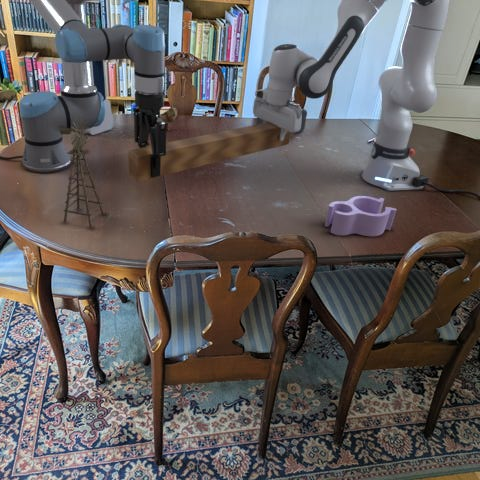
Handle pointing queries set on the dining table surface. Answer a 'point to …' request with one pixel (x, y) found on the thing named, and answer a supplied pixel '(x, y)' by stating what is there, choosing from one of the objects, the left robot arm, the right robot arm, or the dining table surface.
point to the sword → (371, 140)
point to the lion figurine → (169, 116)
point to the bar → (206, 149)
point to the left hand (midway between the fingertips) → (150, 172)
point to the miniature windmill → (78, 148)
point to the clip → (359, 216)
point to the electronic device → (100, 84)
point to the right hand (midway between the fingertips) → (274, 136)
